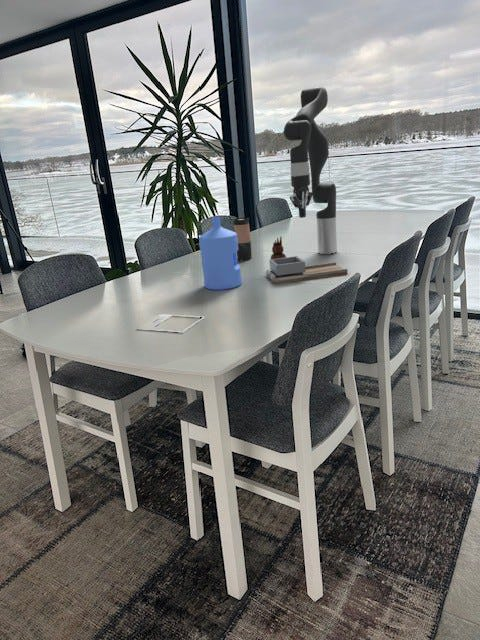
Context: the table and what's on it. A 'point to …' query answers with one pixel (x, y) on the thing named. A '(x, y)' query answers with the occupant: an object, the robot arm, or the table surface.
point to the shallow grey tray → (287, 266)
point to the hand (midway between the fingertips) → (302, 217)
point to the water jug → (220, 258)
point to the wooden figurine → (278, 250)
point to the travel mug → (243, 238)
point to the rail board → (309, 273)
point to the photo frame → (165, 316)
